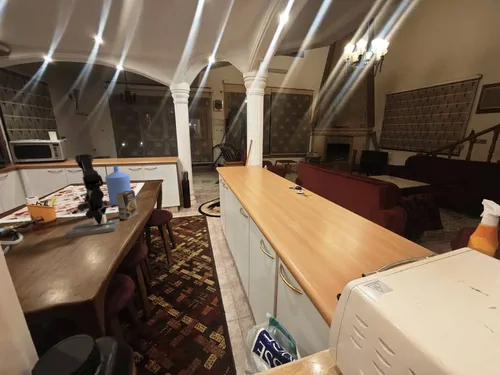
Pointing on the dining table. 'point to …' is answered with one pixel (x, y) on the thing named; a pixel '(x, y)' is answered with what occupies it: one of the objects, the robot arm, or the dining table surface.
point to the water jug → (117, 184)
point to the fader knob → (101, 220)
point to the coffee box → (126, 204)
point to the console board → (93, 228)
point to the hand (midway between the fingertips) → (100, 222)
